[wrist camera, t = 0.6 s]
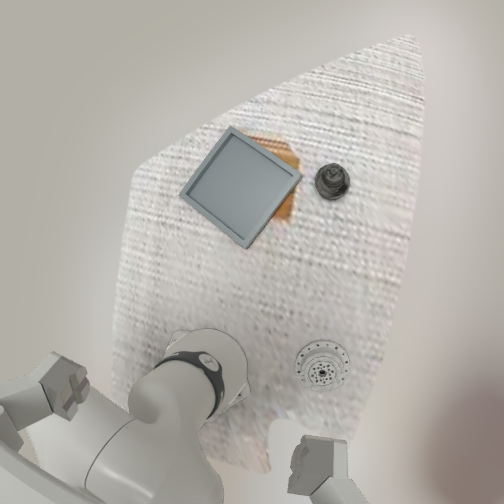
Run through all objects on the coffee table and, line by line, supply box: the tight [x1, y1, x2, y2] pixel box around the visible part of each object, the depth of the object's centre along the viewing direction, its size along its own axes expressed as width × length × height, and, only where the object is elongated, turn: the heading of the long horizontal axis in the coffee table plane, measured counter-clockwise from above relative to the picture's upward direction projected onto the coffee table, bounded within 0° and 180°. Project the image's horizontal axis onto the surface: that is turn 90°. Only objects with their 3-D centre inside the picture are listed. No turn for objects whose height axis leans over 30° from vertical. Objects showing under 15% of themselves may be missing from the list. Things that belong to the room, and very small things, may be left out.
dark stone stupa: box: [315, 163, 350, 200], centre depth 49 cm, size 6×6×12 cm
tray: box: [179, 126, 302, 249], centre depth 57 cm, size 16×16×2 cm
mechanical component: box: [295, 340, 350, 392], centre depth 54 cm, size 10×4×10 cm
